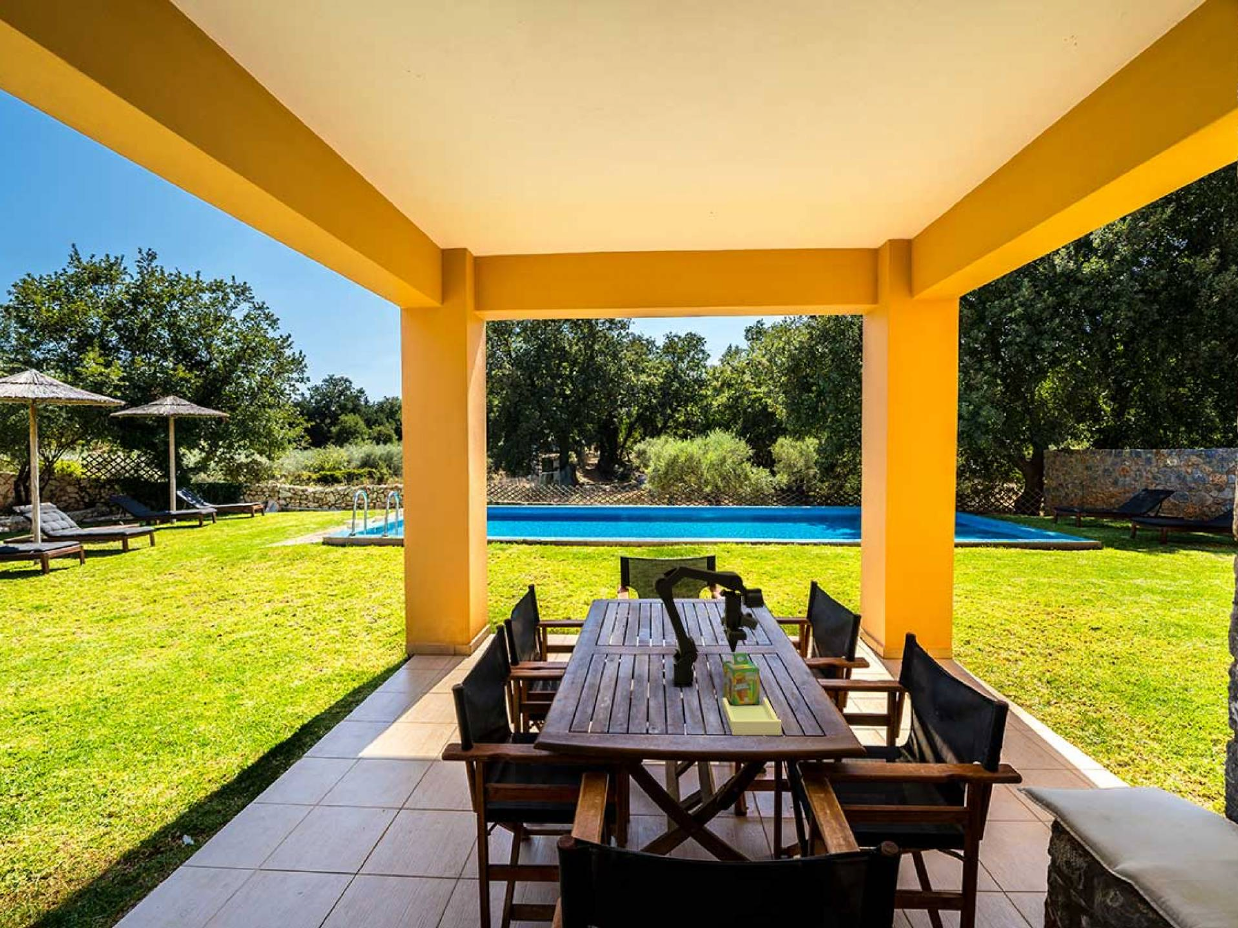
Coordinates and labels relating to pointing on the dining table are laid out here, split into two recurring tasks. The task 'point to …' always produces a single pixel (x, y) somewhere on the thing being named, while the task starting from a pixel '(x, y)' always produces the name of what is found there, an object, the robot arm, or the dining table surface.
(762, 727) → the pale yellow tray
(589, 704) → the dining table surface
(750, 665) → the chalk box
